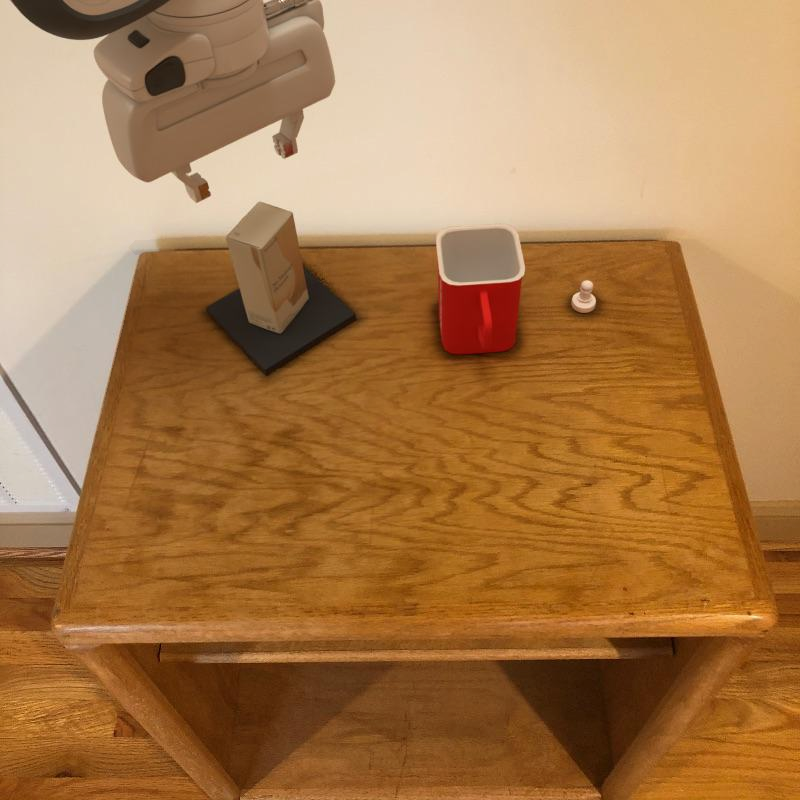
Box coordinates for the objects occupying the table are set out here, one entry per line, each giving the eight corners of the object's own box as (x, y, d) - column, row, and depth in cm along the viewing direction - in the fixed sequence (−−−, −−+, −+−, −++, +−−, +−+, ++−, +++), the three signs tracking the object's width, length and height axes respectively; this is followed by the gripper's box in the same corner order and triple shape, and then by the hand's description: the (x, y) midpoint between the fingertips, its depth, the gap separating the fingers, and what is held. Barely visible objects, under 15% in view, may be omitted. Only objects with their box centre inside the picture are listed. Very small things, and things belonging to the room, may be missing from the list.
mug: (435, 301, 87) (434, 228, 79) (509, 296, 87) (516, 222, 79) (444, 386, 80) (443, 315, 72) (524, 380, 80) (533, 309, 72)
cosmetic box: (281, 336, 84) (259, 251, 74) (247, 323, 85) (222, 238, 75) (311, 296, 87) (294, 210, 77) (278, 285, 89) (257, 199, 79)
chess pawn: (566, 301, 86) (570, 278, 84) (586, 293, 87) (590, 270, 84) (579, 316, 85) (584, 294, 82) (599, 308, 86) (604, 285, 83)
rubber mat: (266, 375, 82) (264, 370, 81) (207, 313, 88) (205, 307, 87) (356, 319, 86) (355, 313, 86) (295, 263, 92) (293, 256, 91)
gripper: (296, -31, 66) (316, 115, 77) (72, 58, 58) (130, 205, 69) (341, -5, 63) (355, 143, 74) (110, 92, 55) (164, 241, 66)
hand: (244, 174), depth 72 cm, fingers open, 8 cm apart
